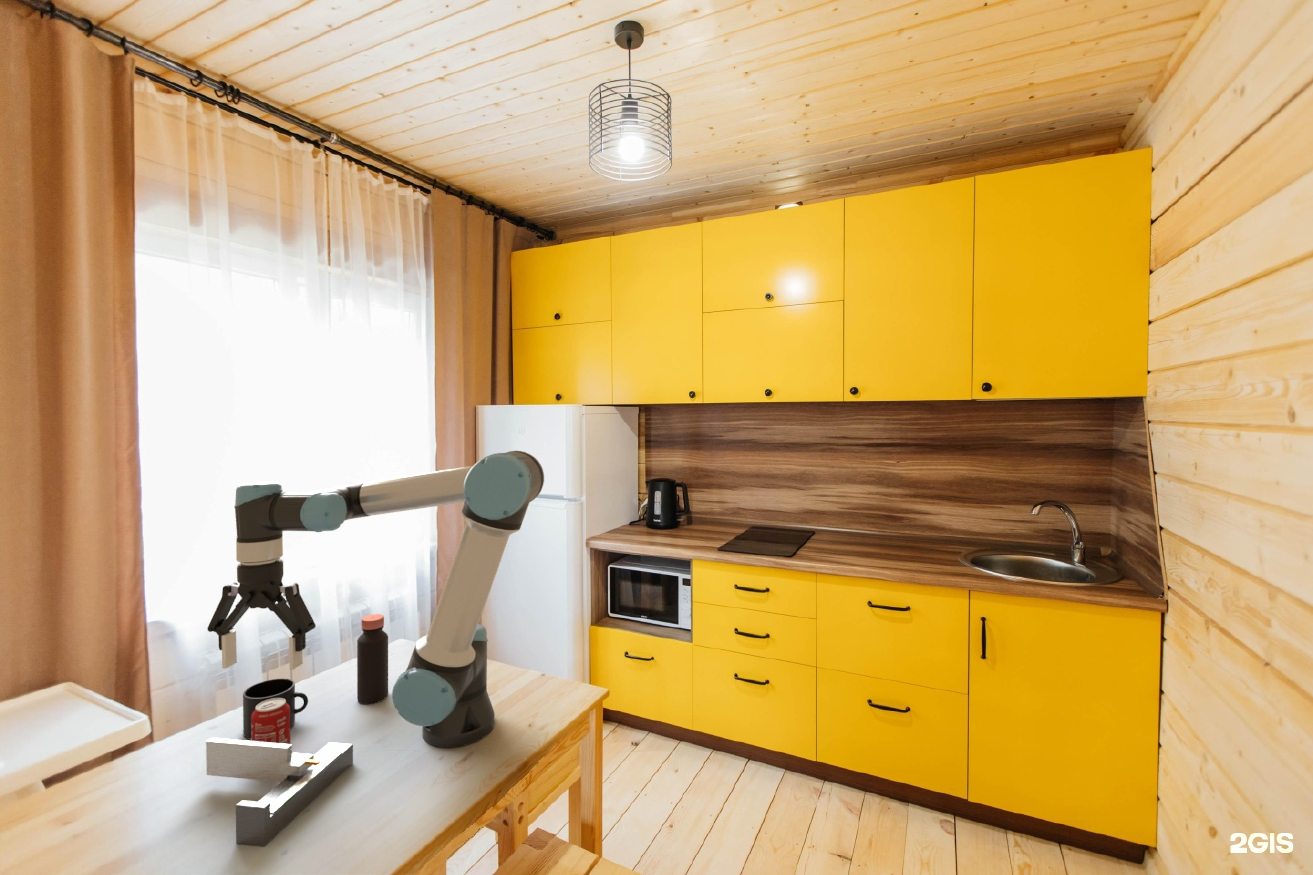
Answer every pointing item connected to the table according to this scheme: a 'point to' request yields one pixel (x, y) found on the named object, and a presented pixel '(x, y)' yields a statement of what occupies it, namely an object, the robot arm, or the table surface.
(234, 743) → the gauge paddle
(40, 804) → the table surface
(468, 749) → the table surface
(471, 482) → the robot arm
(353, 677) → the table surface
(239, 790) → the table surface
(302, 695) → the mug
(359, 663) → the bottle
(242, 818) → the grey long bar
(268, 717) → the beverage can
